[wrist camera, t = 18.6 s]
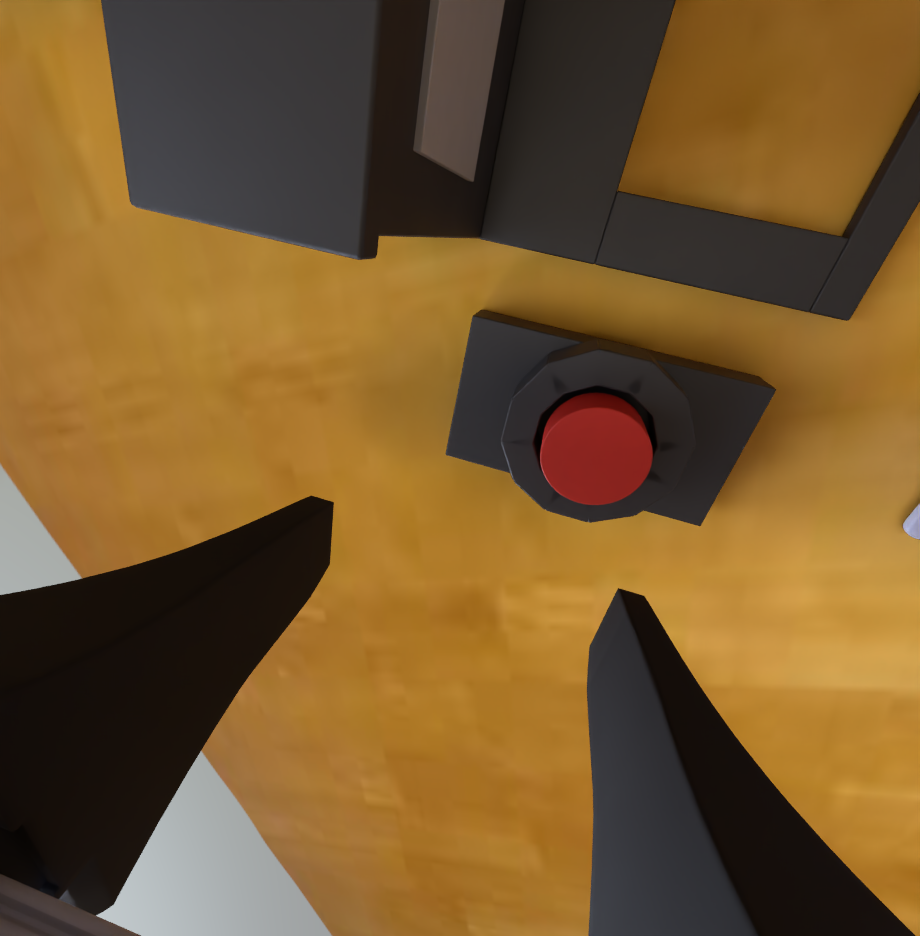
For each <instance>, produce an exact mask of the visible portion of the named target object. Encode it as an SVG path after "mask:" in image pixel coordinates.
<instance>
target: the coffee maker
mask: <svg viewBox="0 0 920 936" xmlns="http://www.w3.org/2000/svg"><path fill="white" fill-rule="evenodd" d="M675 1H676V0H101V3H102V9H103V16H104V23H105V30H106V37H107V44H108V51H109V58H110V65H111V72H112V79H113V86H114V93H115V100H116V107H117V114H118V121H119V128H120V134H121V141H122V148H123V155H124V162H125V169H126V176H127V183H128V190H129V197H130V202H131V204H132V205H134V206H135V207H137V208H141V209H146V210H150V211H154V212H158V213H163V214H167V215H171V216H175V217H179V218H184V219H188V220H192V221H196V222H201V223H205V224H209V225H213V226H218V227H222V228H226V229H230V230H235V231H239V232H243V233H247V234H252V235H256V236H260V237H264V238H269V239H273V240H277V241H281V242H285V243H290V244H294V245H298V246H302V247H307V248H311V249H315V250H319V251H324V252H328V253H332V254H336V255H341V256H345V257H349V258H353V259H358V260H362V259H372V258H375V257H376V255H377V248H378V237H379V236H403V237H444V238H480V239H483V240H487V241H492V242H496V243H501V244H505V245H510V246H514V247H519V248H523V249H527V250H532V251H536V252H541V253H545V254H550V255H554V256H559V257H563V258H568V259H572V260H577V261H581V262H586V263H590V264H594V263H595V264H596V265H599V266H604V267H608V268H613V269H617V270H622V271H626V272H631V273H635V274H639V275H644V276H648V277H653V278H657V279H662V280H666V281H671V282H675V283H680V284H684V285H689V286H693V287H698V288H702V289H707V290H711V291H716V292H720V293H725V294H729V295H734V296H738V297H743V298H747V299H751V300H756V301H760V302H765V303H769V304H774V305H778V306H783V307H787V308H792V309H796V310H801V311H805V312H810V313H814V314H819V315H823V316H828V317H832V318H837V319H841V320H846V321H847V320H849V319H850V318H851V316H852V315H853V313H854V311H855V309H856V308H857V306H858V304H859V303H860V301H861V299H862V298H863V296H864V294H865V293H866V291H867V289H868V288H869V286H870V284H871V282H872V281H873V279H874V277H875V276H876V274H877V272H878V271H879V269H880V267H881V266H882V264H883V262H884V261H885V259H886V257H887V256H888V254H889V252H890V250H891V249H892V247H893V245H894V244H895V242H896V240H897V239H898V237H899V235H900V234H901V232H902V230H903V229H904V227H905V225H906V223H907V222H908V220H909V218H910V217H911V215H912V213H913V212H914V210H915V208H916V207H917V205H918V203H919V202H920V94H919V95H918V97H917V99H916V101H915V103H914V105H913V107H912V108H911V110H910V112H909V114H908V116H907V118H906V120H905V121H904V123H903V125H902V127H901V129H900V131H899V133H898V134H897V136H896V138H895V140H894V142H893V144H892V146H891V147H890V149H889V151H888V153H887V155H886V157H885V158H884V160H883V162H882V164H881V166H880V168H879V170H878V171H877V173H876V175H875V177H874V179H873V181H872V183H871V184H870V186H869V188H868V190H867V192H866V194H865V196H864V197H863V199H862V201H861V203H860V205H859V207H858V209H857V210H856V212H855V214H854V216H853V218H852V220H851V222H850V223H849V225H848V227H847V229H846V231H845V233H844V235H843V236H842V237H841V236H836V235H831V234H826V233H822V232H817V231H812V230H807V229H802V228H797V227H792V226H787V225H782V224H777V223H772V222H768V221H763V220H758V219H753V218H748V217H743V216H738V215H733V214H728V213H723V212H719V211H714V210H709V209H704V208H699V207H694V206H689V205H684V204H679V203H674V202H669V201H665V200H660V199H655V198H650V197H645V196H640V195H635V194H630V193H625V192H620V191H618V192H617V189H618V186H619V183H620V180H621V176H622V173H623V170H624V167H625V163H626V160H627V157H628V154H629V150H630V147H631V144H632V141H633V137H634V134H635V131H636V128H637V124H638V121H639V118H640V115H641V111H642V108H643V105H644V102H645V98H646V95H647V92H648V89H649V85H650V82H651V79H652V76H653V72H654V69H655V66H656V63H657V59H658V56H659V53H660V50H661V46H662V43H663V40H664V37H665V33H666V30H667V27H668V24H669V20H670V17H671V14H672V11H673V7H674V4H675Z"/></svg>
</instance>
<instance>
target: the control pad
mask: <svg viewBox="0 0 920 936" xmlns="http://www.w3.org/2000/svg"><path fill="white" fill-rule="evenodd" d="M775 391H776V389H775V388H774V387H772V386H771V385H770V384H768V383H767V382H766V381H764V380H763V379H762V378H760V377H759V376H755V375H751V374H747V373H742V372H738V371H734V370H730V369H726V368H722V367H717V366H713V365H709V364H705V363H701V362H697V361H693V360H688V359H684V358H680V357H676V356H672V355H668V354H664V353H659V352H655V351H651V350H647V349H643V348H639V347H635V346H630V345H626V344H622V343H618V342H614V341H610V340H606V339H601V338H597V337H593V336H589V335H585V334H581V333H577V332H572V331H568V330H564V329H560V328H556V327H552V326H548V325H543V324H539V323H535V322H531V321H527V320H523V319H518V318H514V317H510V316H506V315H502V314H498V313H494V312H489V311H485V310H480V311H479V312H478V313H476V314H475V315H473V318H472V323H471V328H470V333H469V338H468V343H467V348H466V353H465V358H464V363H463V368H462V374H461V379H460V384H459V389H458V394H457V399H456V404H455V409H454V414H453V419H452V424H451V429H450V434H449V439H448V445H447V450H446V455H448V456H452V457H455V458H459V459H463V460H466V461H470V462H473V463H477V464H480V465H484V466H487V467H491V468H495V469H498V470H502V471H505V472H509V473H511V476H512V479H513V480H514V482H515V483H516V484H517V485H518V486H519V487H520V488H521V489H522V490H523V491H524V492H526V493H527V494H528V495H529V496H530V497H531V498H532V499H533V500H534V501H535V502H536V503H538V504H539V505H540V506H541V507H542V508H543V509H546V510H547V511H550V512H553V513H557V514H560V515H564V516H567V517H571V518H574V519H578V520H581V521H585V522H597V521H603V520H610V519H617V518H623V517H630V516H634V515H637V514H638V513H640V512H641V511H643V510H644V511H648V512H651V513H655V514H658V515H662V516H666V517H669V518H673V519H676V520H680V521H683V522H687V523H690V524H694V525H698V526H701V524H702V522H703V520H704V519H705V517H706V515H707V513H708V511H709V510H710V508H711V506H712V504H713V502H714V501H715V499H716V497H717V495H718V493H719V492H720V490H721V488H722V486H723V484H724V483H725V481H726V479H727V477H728V476H729V474H730V472H731V470H732V468H733V467H734V465H735V463H736V461H737V459H738V458H739V456H740V454H741V452H742V450H743V449H744V447H745V445H746V443H747V441H748V440H749V438H750V436H751V434H752V432H753V431H754V429H755V427H756V425H757V423H758V422H759V420H760V418H761V416H762V415H763V413H764V411H765V409H766V407H767V406H768V404H769V402H770V400H771V398H772V397H773V395H774V393H775ZM586 393H606V394H611V395H614V396H617V397H619V398H621V399H623V400H625V401H627V402H628V403H629V404H631V405H632V406H633V407H634V408H635V409H636V410H637V412H638V413H639V414H640V416H641V418H642V420H643V422H644V425H645V427H646V430H647V433H648V435H649V438H650V441H651V445H652V451H653V459H652V465H651V468H650V471H649V473H648V475H647V477H646V479H645V480H644V482H643V483H642V484H641V485H640V486H639V487H638V488H637V489H636V490H635V491H634V492H633V493H631V494H630V495H628V496H627V497H625V498H623V499H621V500H619V501H616V502H613V503H609V504H603V505H588V504H582V503H578V502H575V501H572V500H570V499H568V498H566V497H564V496H562V495H561V494H559V493H558V492H557V491H556V490H555V489H554V488H553V487H552V486H551V485H550V484H549V482H548V481H547V479H546V478H545V476H544V474H543V471H542V468H541V463H540V451H541V445H542V439H543V433H544V429H545V426H546V423H547V421H548V419H549V418H550V416H551V415H552V413H553V412H554V411H555V410H556V409H557V408H558V407H559V406H560V405H561V404H563V403H564V402H566V401H567V400H569V399H571V398H573V397H575V396H578V395H582V394H586Z"/></svg>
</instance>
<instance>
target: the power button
mask: <svg viewBox="0 0 920 936" xmlns="http://www.w3.org/2000/svg"><path fill="white" fill-rule="evenodd" d="M652 459H653V451H652V445H651V441H650V438H649V435H648V433H647V430H646V427H645V425H644V422H643V420H642V418H641V416H640V414H639V413H638V412H637V410H636V409H635V408H634V407H633V406H632V405H631V404H629V403H628V402H627V401H625V400H623V399H621V398H619V397H617V396H614V395H611V394H606V393H586V394H582V395H578V396H575V397H573V398H571V399H569V400H567V401H566V402H564V403H563V404H561V405H560V406H559V407H558V408H557V409H556V410H555V411H554V412H553V413H552V415H551V416H550V418H549V419H548V421H547V423H546V426H545V429H544V433H543V439H542V445H541V451H540V463H541V468H542V471H543V474H544V476H545V478H546V479H547V481H548V482H549V484H550V485H551V486H552V487H553V488H554V489H555V490H556V491H557V492H558V493H559V494H561V495H562V496H564V497H566V498H568V499H570V500H572V501H575V502H578V503H582V504H588V505H603V504H609V503H613V502H616V501H619V500H621V499H623V498H625V497H627V496H628V495H630V494H631V493H633V492H634V491H635V490H636V489H637V488H638V487H639V486H640V485H641V484H642V483H643V482H644V480H645V479H646V477H647V475H648V473H649V471H650V468H651V465H652Z"/></svg>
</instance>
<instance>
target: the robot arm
mask: <svg viewBox="0 0 920 936" xmlns="http://www.w3.org/2000/svg"><path fill="white" fill-rule="evenodd" d="M333 505H334V502H331V501H328V500H324V499H321V498H318V497H314V496H310V497H307V498H305V499H302V500H300V501H298V502H295V503H293V504H291V505H289V506H286V507H284V508H282V509H280V510H278V511H275V512H273V513H271V514H269V515H267V516H264V517H262V518H260V519H258V520H255V521H253V522H251V523H249V524H246V525H244V526H242V527H239V528H237V529H235V530H232V531H230V532H227V533H225V534H222V535H220V536H217V537H215V538H212V539H209V540H207V541H204V542H202V543H199V544H197V545H194V546H192V547H189V548H186V549H183V550H180V551H178V552H175V553H172V554H169V555H166V556H163V557H159V558H156V559H153V560H150V561H146V562H143V563H140V564H137V565H133V566H130V567H126V568H122V569H118V570H114V571H110V572H106V573H102V574H98V575H94V576H90V577H86V578H83V579H79V580H75V581H70V582H66V583H61V584H57V585H51V586H46V587H42V588H37V589H31V590H26V591H21V592H15V593H10V594H4V595H0V936H141V935H138V934H136V933H134V932H131V931H129V930H127V929H124V928H122V927H120V926H118V925H115V924H113V923H111V922H108V921H106V920H104V919H102V918H99V917H97V916H96V915H98V914H99V913H101V912H103V911H105V910H106V909H108V908H109V907H110V906H112V905H113V904H114V903H115V901H116V899H117V896H118V895H119V893H120V891H121V889H122V887H123V886H124V884H125V882H126V880H127V878H128V877H129V875H130V873H131V871H132V869H133V867H134V866H135V864H136V862H137V860H138V858H139V857H140V855H141V853H142V851H143V849H144V847H145V846H146V844H147V842H148V840H149V838H150V837H151V835H152V833H153V831H154V830H155V827H156V826H157V824H158V822H159V820H160V819H161V817H162V815H163V814H164V812H165V810H166V809H167V807H168V805H169V803H170V802H171V800H172V798H173V797H174V795H175V793H176V791H177V790H178V788H179V786H180V784H181V783H182V781H183V779H184V778H185V776H186V774H187V773H188V771H189V769H190V768H191V766H192V764H193V763H194V761H195V759H196V758H197V756H198V755H199V753H200V751H201V750H202V748H203V746H204V745H205V743H206V742H207V740H208V738H209V737H210V735H211V733H212V732H213V730H214V728H215V727H216V725H217V724H218V722H219V721H220V719H221V718H222V716H223V714H224V713H225V711H226V710H227V708H228V707H229V705H230V704H231V702H232V700H233V699H234V697H235V696H236V694H237V693H238V691H239V689H240V688H241V687H242V685H243V684H244V682H245V681H246V680H247V678H248V677H249V675H250V674H251V673H252V671H253V670H254V669H255V667H256V666H257V665H258V664H259V662H260V661H261V660H262V659H263V657H264V656H265V655H266V653H267V652H268V651H269V650H270V648H271V647H272V646H273V644H274V643H275V642H276V641H277V639H278V638H279V637H280V636H281V634H282V633H283V632H284V630H285V629H286V628H287V627H288V625H289V624H290V623H291V622H292V620H293V619H294V618H295V616H296V615H297V614H298V612H299V611H300V610H301V609H302V607H303V606H304V605H305V603H306V602H307V601H308V599H309V598H310V597H311V595H312V593H313V592H314V590H315V588H316V587H317V585H318V583H319V582H320V580H321V578H322V577H323V575H324V573H325V571H326V570H327V568H328V566H329V564H330V552H331V536H332V521H333ZM903 529H904V530H905V532H906V533H907V534H909V535H910V536H911V537H913V538H916V539H919V540H920V503H919V504H918V506H917V507H916V508H915V509H914V510H913V512H912V513H911V514H910V515H909V516H908V518H907V519H906V520H905V522H904V524H903ZM587 701H588V718H589V735H590V751H591V767H592V783H593V813H594V816H593V850H592V877H591V898H590V920H589V936H915V935H914V934H913V933H912V932H911V931H910V930H909V929H908V928H907V927H906V926H905V925H904V924H903V923H902V922H901V921H900V920H899V919H898V918H897V917H896V916H895V915H894V914H893V913H892V912H891V911H890V910H889V909H888V908H887V907H886V906H885V905H884V904H883V903H882V902H881V901H880V900H879V899H878V898H877V897H876V896H875V895H874V894H873V893H872V892H871V891H870V890H869V889H868V888H867V887H866V886H865V885H864V884H863V883H862V882H861V880H860V879H859V878H858V877H857V876H856V875H855V874H854V873H853V872H852V871H851V870H850V869H849V868H848V867H847V866H846V865H845V864H844V863H843V862H842V861H841V860H840V858H839V857H838V856H837V855H836V854H835V853H834V852H833V851H832V850H831V849H830V848H829V847H828V846H827V845H826V844H825V842H824V841H823V840H822V839H821V838H820V837H819V836H818V835H817V833H816V832H815V831H814V830H813V829H812V828H811V827H810V826H809V825H808V823H807V822H806V821H805V820H804V819H803V818H802V817H801V816H800V814H799V813H798V812H797V811H796V810H795V809H794V808H793V807H792V806H791V804H790V803H789V802H788V801H787V800H786V799H785V797H784V796H783V795H782V794H781V793H780V791H779V790H778V789H777V788H776V787H775V786H774V784H773V783H772V782H771V781H770V780H769V778H768V777H767V776H766V775H765V773H764V772H763V771H762V770H761V768H760V767H759V766H758V765H757V763H756V762H755V761H754V760H753V758H752V757H751V756H750V755H749V753H748V752H747V751H746V750H745V748H744V747H743V746H742V744H741V743H740V742H739V740H738V739H737V738H736V737H735V735H734V734H733V733H732V731H731V730H730V728H729V727H728V726H727V724H726V723H725V722H724V720H723V719H722V717H721V716H720V714H719V713H718V712H717V710H716V709H715V707H714V706H713V705H712V703H711V702H710V700H709V699H708V697H707V696H706V694H705V693H704V691H703V690H702V688H701V687H700V686H699V684H698V683H697V681H696V679H695V678H694V676H693V675H692V673H691V672H690V670H689V669H688V667H687V665H686V664H685V662H684V661H683V659H682V658H681V656H680V654H679V653H678V651H677V649H676V648H675V646H674V645H673V643H672V641H671V640H670V638H669V636H668V635H667V633H666V631H665V630H664V628H663V626H662V625H661V623H660V621H659V619H658V618H657V616H656V614H655V613H654V611H653V609H652V608H651V606H650V604H649V603H648V601H647V600H646V598H645V596H642V595H639V594H636V593H632V592H629V591H626V590H622V589H619V588H618V590H617V592H616V594H615V596H614V598H613V600H612V602H611V604H610V606H609V608H608V610H607V612H606V614H605V616H604V618H603V620H602V622H601V624H600V627H599V629H598V631H597V633H596V635H595V637H594V639H593V641H592V643H591V645H590V648H589V662H588V677H587Z"/></svg>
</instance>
